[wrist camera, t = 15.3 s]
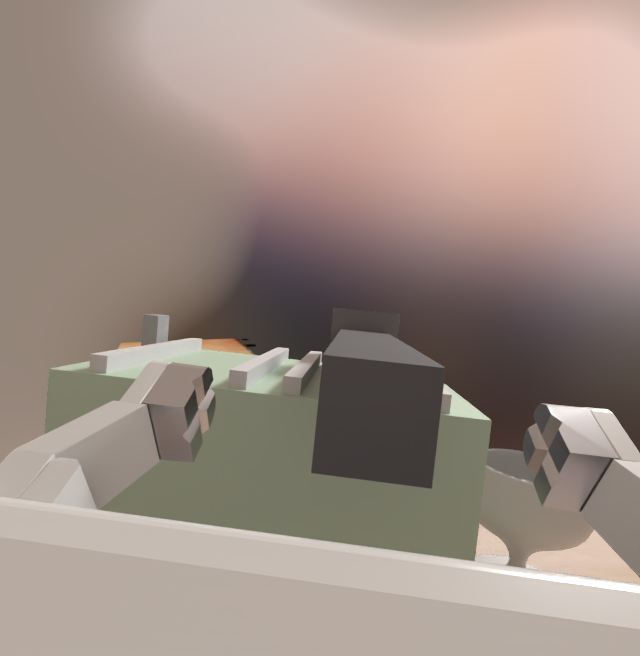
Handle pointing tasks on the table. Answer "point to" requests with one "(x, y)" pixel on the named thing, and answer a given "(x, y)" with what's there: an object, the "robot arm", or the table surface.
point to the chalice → (523, 513)
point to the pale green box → (281, 454)
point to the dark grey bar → (376, 403)
